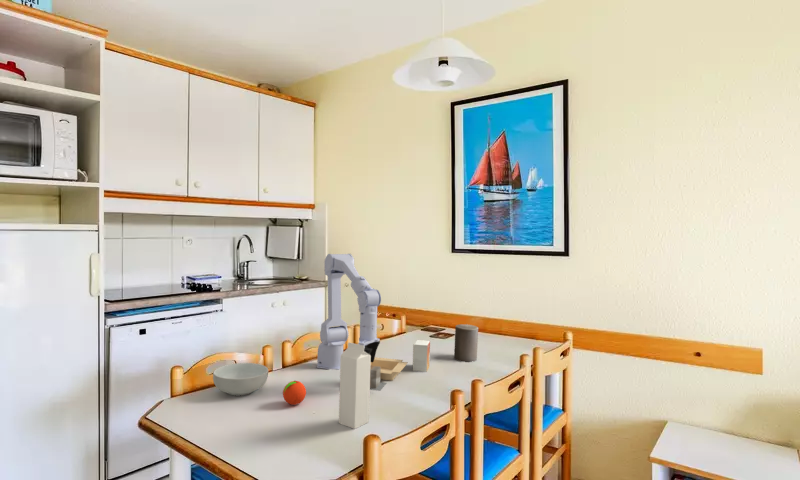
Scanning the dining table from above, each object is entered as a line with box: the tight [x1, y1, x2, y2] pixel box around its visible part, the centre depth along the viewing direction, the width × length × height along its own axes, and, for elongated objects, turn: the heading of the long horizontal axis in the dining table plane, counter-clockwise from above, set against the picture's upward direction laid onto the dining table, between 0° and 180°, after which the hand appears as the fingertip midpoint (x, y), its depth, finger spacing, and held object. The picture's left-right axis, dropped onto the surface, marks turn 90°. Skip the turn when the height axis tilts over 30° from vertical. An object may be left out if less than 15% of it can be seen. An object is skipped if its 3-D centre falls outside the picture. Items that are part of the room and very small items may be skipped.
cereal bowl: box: [212, 362, 269, 397], centre depth 152 cm, size 17×17×7 cm
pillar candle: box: [453, 323, 479, 363], centre depth 199 cm, size 10×10×15 cm
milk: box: [338, 342, 371, 430], centre depth 130 cm, size 6×6×22 cm
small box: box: [412, 339, 431, 373], centre depth 182 cm, size 8×6×10 cm
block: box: [370, 366, 381, 388], centre depth 161 cm, size 8×5×6 cm, turn 76°
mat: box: [370, 381, 387, 392], centre depth 161 cm, size 12×8×1 cm, turn 76°
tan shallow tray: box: [370, 356, 408, 381], centre depth 174 cm, size 17×18×4 cm
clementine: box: [282, 380, 307, 406], centre depth 142 cm, size 8×7×7 cm
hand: (367, 364), depth 161 cm, fingers open, 7 cm apart
